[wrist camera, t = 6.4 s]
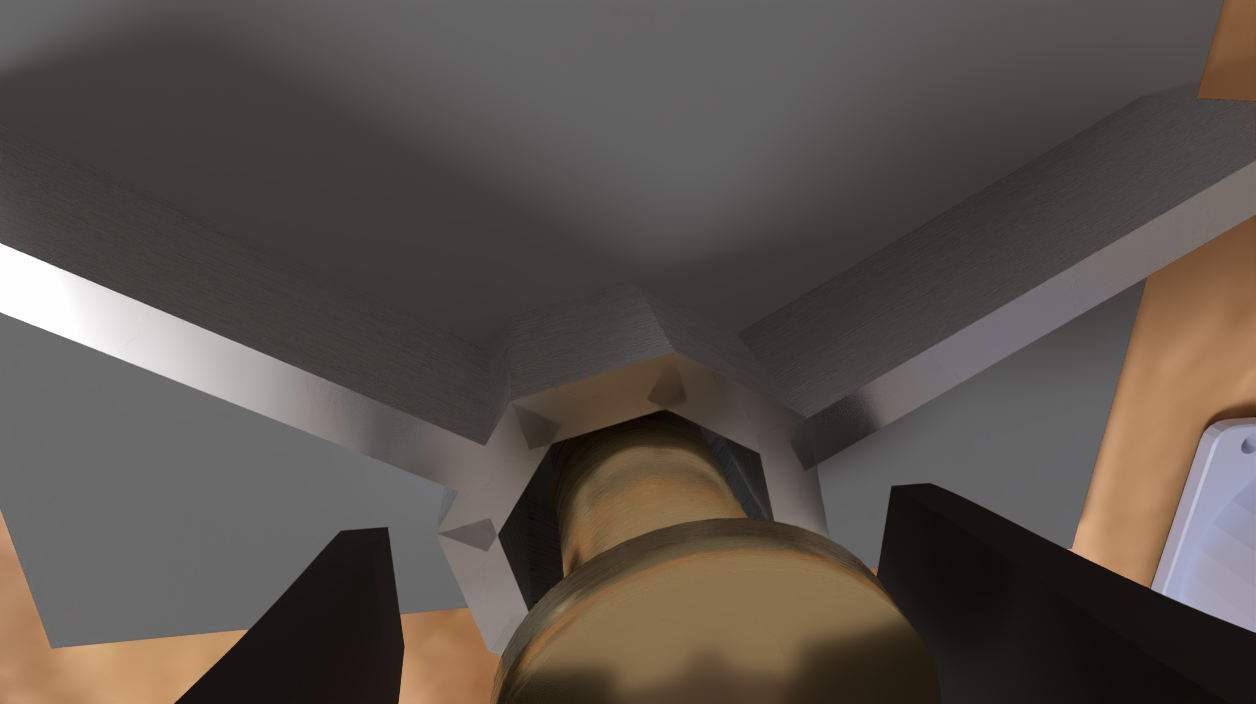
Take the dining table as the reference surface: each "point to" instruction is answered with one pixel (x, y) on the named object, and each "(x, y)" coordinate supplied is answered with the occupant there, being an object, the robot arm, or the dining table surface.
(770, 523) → the hinge pin
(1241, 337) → the dining table surface
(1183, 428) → the dining table surface
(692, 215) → the mat
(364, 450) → the steel hinge
